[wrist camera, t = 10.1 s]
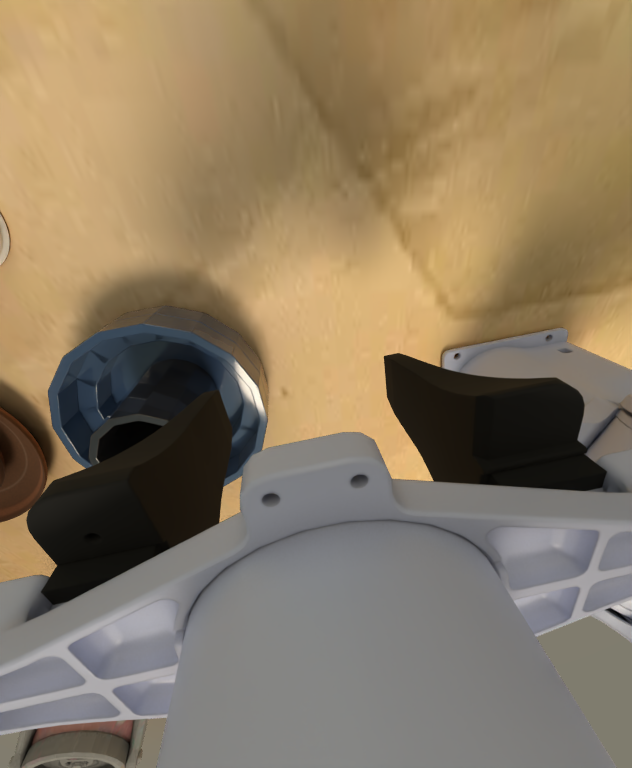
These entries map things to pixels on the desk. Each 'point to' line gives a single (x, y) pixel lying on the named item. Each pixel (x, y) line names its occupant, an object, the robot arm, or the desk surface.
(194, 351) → the bowl
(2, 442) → the cup and saucer
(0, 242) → the chess piece
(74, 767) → the beverage can
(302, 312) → the desk surface
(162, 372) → the cup
